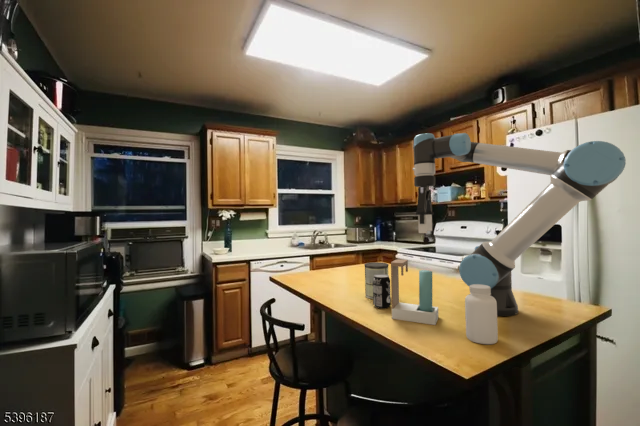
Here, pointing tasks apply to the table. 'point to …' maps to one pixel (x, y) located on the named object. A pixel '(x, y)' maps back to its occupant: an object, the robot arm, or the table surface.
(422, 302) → the peg
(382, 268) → the coffee can
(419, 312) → the station
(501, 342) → the table surface
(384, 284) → the beverage can
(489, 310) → the pill bottle
